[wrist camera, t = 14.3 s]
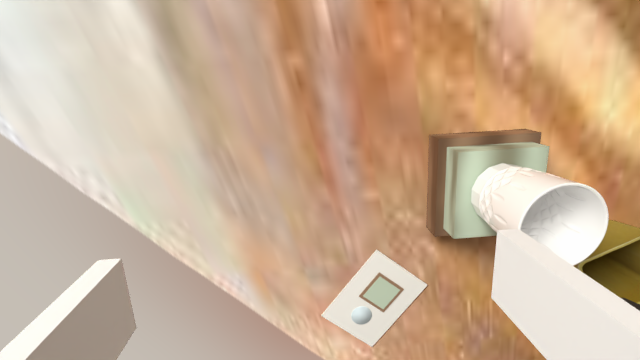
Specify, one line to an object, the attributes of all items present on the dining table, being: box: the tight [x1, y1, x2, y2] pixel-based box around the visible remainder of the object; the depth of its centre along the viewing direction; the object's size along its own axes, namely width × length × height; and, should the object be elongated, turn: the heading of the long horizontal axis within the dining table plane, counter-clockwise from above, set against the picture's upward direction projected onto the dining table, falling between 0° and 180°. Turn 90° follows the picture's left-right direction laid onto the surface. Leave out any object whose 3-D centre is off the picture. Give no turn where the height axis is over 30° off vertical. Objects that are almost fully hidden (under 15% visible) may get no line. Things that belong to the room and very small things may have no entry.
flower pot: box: [574, 220, 640, 304], centre depth 45 cm, size 9×9×9 cm
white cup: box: [471, 163, 609, 266], centre depth 36 cm, size 8×8×10 cm
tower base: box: [426, 129, 549, 239], centre depth 43 cm, size 12×12×6 cm
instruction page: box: [321, 250, 427, 347], centre depth 50 cm, size 12×9×1 cm
